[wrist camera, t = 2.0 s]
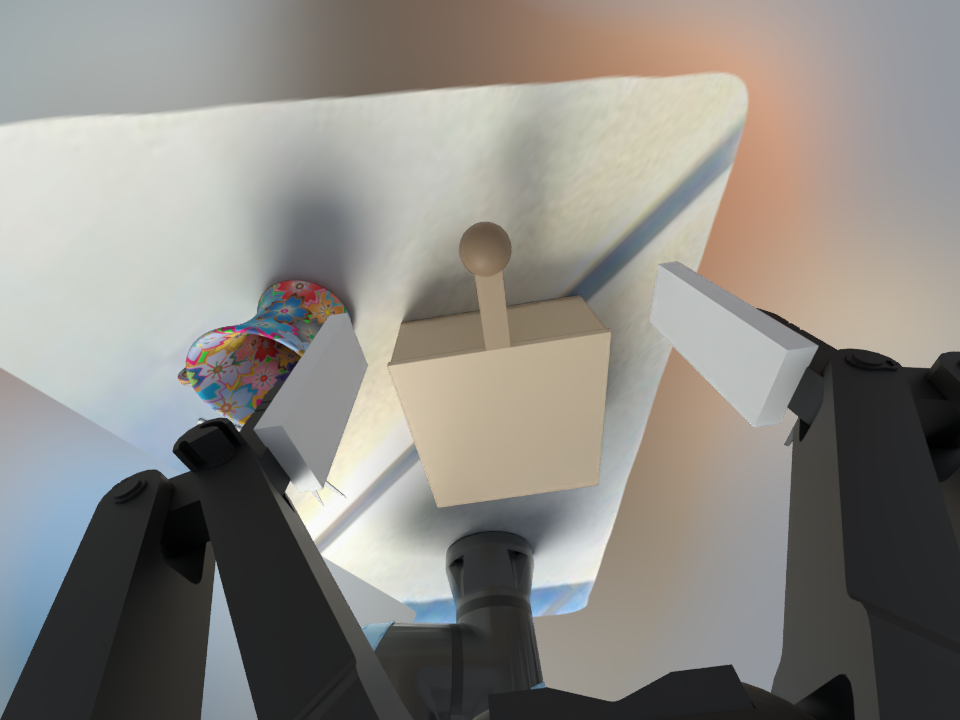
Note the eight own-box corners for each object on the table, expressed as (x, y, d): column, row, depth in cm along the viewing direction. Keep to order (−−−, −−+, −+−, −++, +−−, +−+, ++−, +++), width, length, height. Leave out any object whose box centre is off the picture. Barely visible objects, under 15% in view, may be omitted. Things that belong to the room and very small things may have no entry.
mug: (341, 266, 31) (295, 320, 22) (369, 352, 36) (342, 423, 27) (209, 282, 31) (113, 342, 22) (257, 365, 36) (193, 441, 27)
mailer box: (576, 435, 45) (594, 480, 39) (441, 455, 46) (439, 502, 40) (579, 294, 34) (605, 328, 28) (401, 322, 35) (390, 361, 29)
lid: (592, 470, 41) (603, 496, 38) (438, 491, 41) (437, 520, 38) (610, 195, 24) (632, 205, 21) (352, 237, 24) (338, 252, 21)
